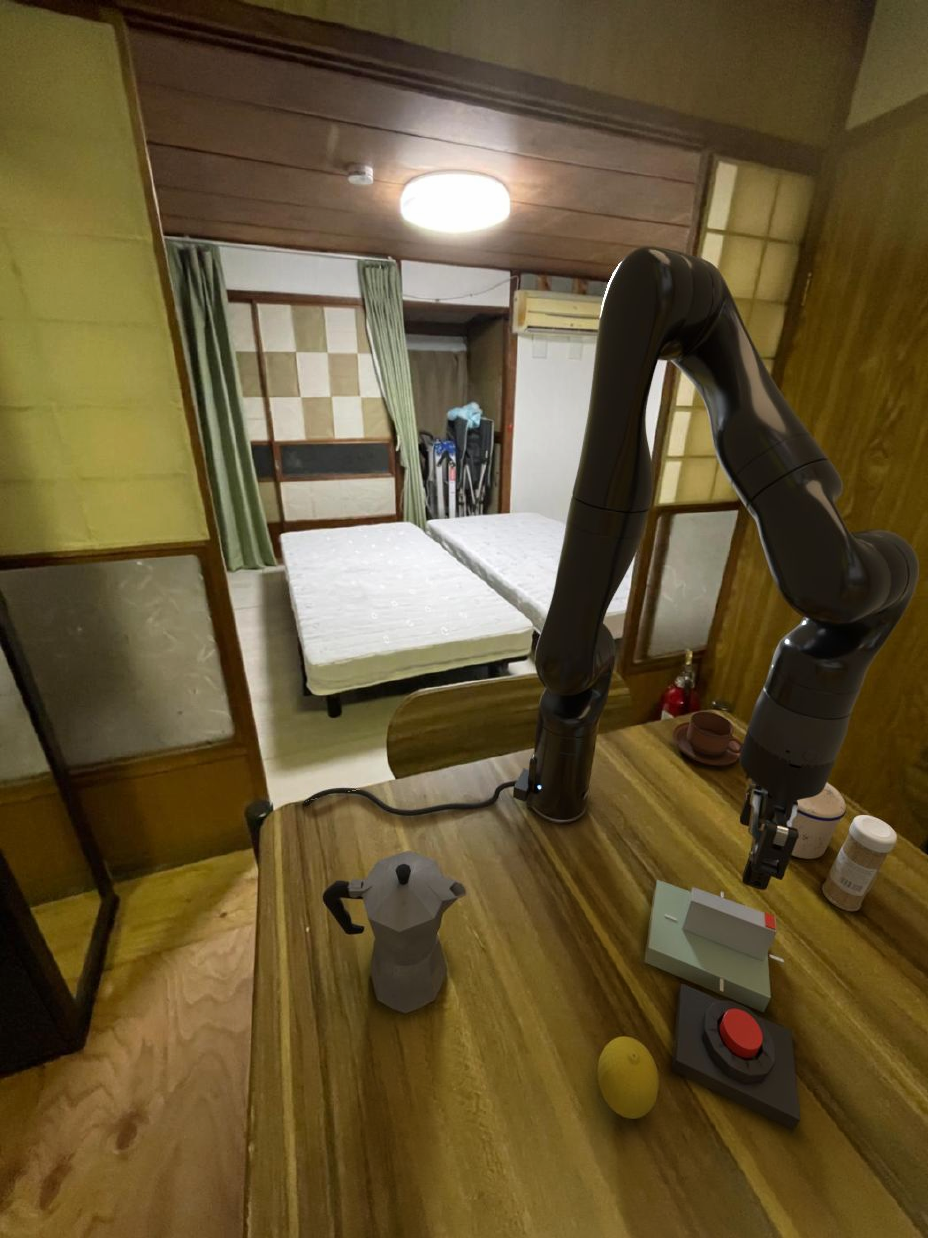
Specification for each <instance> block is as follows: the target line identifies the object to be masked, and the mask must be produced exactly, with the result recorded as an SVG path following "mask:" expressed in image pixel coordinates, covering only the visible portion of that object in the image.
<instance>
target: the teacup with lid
mask: <svg viewBox="0 0 928 1238" xmlns="http://www.w3.org/2000/svg"><path fill="white" fill-rule="evenodd" d="M797 801H798V809H797V815H796V817H795V818H794V819H793V822H792V827H793V828H796V829H797V830H798V834H799V837H798V839H797V841H796V844H795V846H794V849H793V852H792V855H791V856H793V857H796V858H799V859H805V860H806V859H807V860H811V859H812V860H813V859H817V858H820V857H822V856H823V855H824V854H825V852H826V850H827V848H828V846H829V844H830V842H831V840H832V837H833V835H834V834H835V831H836V829H837V828H838V825H839V822H840V820H841V819H842V818H844V816H845V815H846V813H847V806H846V805H847V804H846V801H845V799H844V797H843V795H842V794H841V793H840V792H839V790H837V789H836V787H834V786H833V785H831V784H830V783H828V782H827V783H826V785H825V788H824V789H823V791H822V792H821V793H820V794H818V795H816V796H814V797H810V798H805V799H800V800H797ZM763 826H764V824H762V826H761V828H760V830H762V828H763Z"/></svg>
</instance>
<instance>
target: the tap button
mask: <svg viewBox="0 0 928 1238" xmlns="http://www.w3.org/2000/svg"><path fill="white" fill-rule="evenodd" d="M720 1034H721V1037H722V1040H723V1042H724V1043H725V1045H726V1046H727V1047H728V1048H729V1050H731V1051H732V1052H733V1053H734V1054H736V1055H737V1056H739V1057H742V1058H752V1057H754V1056H755V1055H756V1054H757V1052H758V1050H759V1048H760V1046H761V1045H762V1041H763V1036H762V1032H761V1029H760V1027H759V1025H758V1024H757V1022H756V1021H755V1020H754V1019H753V1018H752V1017H751V1016H750V1015H749V1014H748V1013H746V1012H744V1011H742V1010H739V1009H730V1010H728V1011H727V1012H726V1013H725V1014H724V1017H723V1019H722V1021H721V1024H720Z"/></svg>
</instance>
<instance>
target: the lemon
mask: <svg viewBox="0 0 928 1238" xmlns="http://www.w3.org/2000/svg"><path fill="white" fill-rule="evenodd" d="M598 1060H599V1061H598V1063H597V1064H598V1065H597V1080H598V1081H597V1082H598V1087H599V1089H600V1092H601V1094H602V1096H603V1097H602V1098H603V1099H604V1100H605V1102H606V1103H607V1105H608V1107H610V1108H611V1109H612V1110H613V1111H614V1112H615V1113H616V1114H618V1115H619V1116H620V1117H623V1118H626V1119H635V1120H636V1119H639V1118H643V1117H644V1116H645V1115H647V1114H648V1113H650V1112H651V1110H652V1108H653V1107H654V1105H655V1104H656V1101H657V1099H658V1098H657V1097H658V1094H659V1085H660V1084H659V1082H660V1081H659V1079H660V1078H659V1073H658V1068H657V1065H656V1062H655V1060H654V1058H653V1055H652V1054H651V1052H650V1051H649V1049H648V1048H647V1047H646V1046H645V1045H644V1044H643V1043H642V1042H640V1041H639V1040H638V1039H635V1038H633V1037H630V1036H625V1035H624V1036H617V1037H615V1038H613V1039H611V1040H610V1041H609V1042H608V1043H607V1044H606V1045H605V1046H604V1048H603V1050H602V1051H601V1053H600V1055H599V1059H598Z"/></svg>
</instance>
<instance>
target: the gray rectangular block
mask: <svg viewBox="0 0 928 1238" xmlns="http://www.w3.org/2000/svg"><path fill="white" fill-rule="evenodd" d="M777 927H778V926H777V917H776V916H775V915H774V914H770V913H767V912H763V911H760V910H758V909H754V908H752V907H749V906H746V905H743V904H742V903H738V902H736V901H733V900H730V899H727V898H725V897H724V898H722V897H720V896H719V895H716V894H714V893H711V892H708V891H705V890H702V889H699V888H697V887H695V886H692V887H691V889H690V895H689V898H688V901H687V905H686V908H685V911H684V914H683V923H682V929H683V930H685V931H688V932H690V933H693V934H696V935H698V936H701V937H703V938H706V939H708V940H711V941H713V942H716V943H718V944H721V945H724V946H726V947H729V948H731V949H734V950H736V951H739V952H741V953H744V954H746V955H749V956H752V957H754V958H757V959H759V960H762V961H764V960H765V957H766V955H767V953H769V951H770V949H771V946H772V944H773V943H774V940H775V938H776V935H777V933H778V929H777Z"/></svg>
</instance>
